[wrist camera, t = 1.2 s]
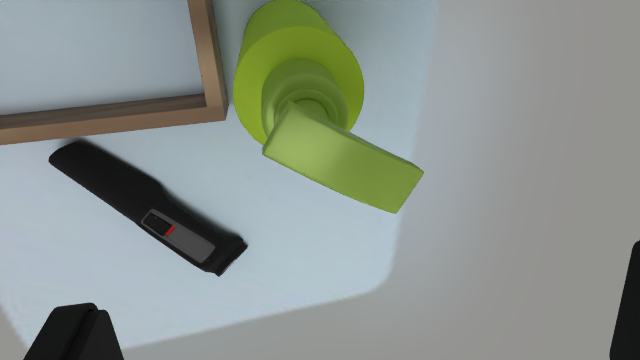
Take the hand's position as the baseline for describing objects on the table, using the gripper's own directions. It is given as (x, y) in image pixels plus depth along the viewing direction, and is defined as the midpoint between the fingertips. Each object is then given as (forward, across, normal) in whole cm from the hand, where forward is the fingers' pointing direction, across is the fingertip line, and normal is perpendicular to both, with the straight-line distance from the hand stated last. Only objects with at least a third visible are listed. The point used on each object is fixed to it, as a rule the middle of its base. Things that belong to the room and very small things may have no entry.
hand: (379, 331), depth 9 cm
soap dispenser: (+28, 0, 0) cm, 28 cm away
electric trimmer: (+28, +12, +11) cm, 33 cm away
